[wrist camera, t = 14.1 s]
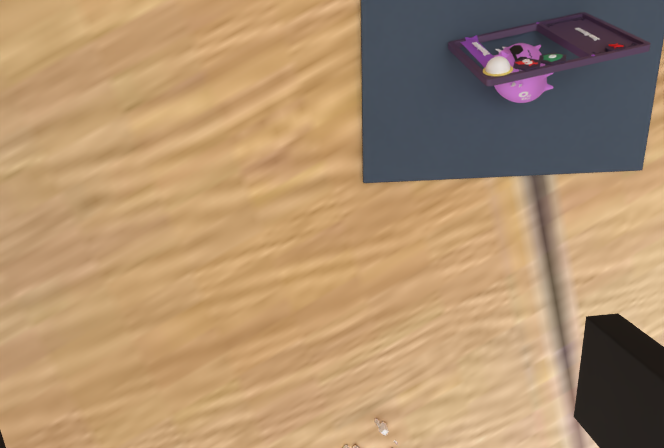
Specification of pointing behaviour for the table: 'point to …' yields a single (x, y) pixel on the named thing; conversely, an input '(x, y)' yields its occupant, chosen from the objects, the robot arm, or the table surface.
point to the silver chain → (382, 429)
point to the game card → (529, 64)
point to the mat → (487, 104)
